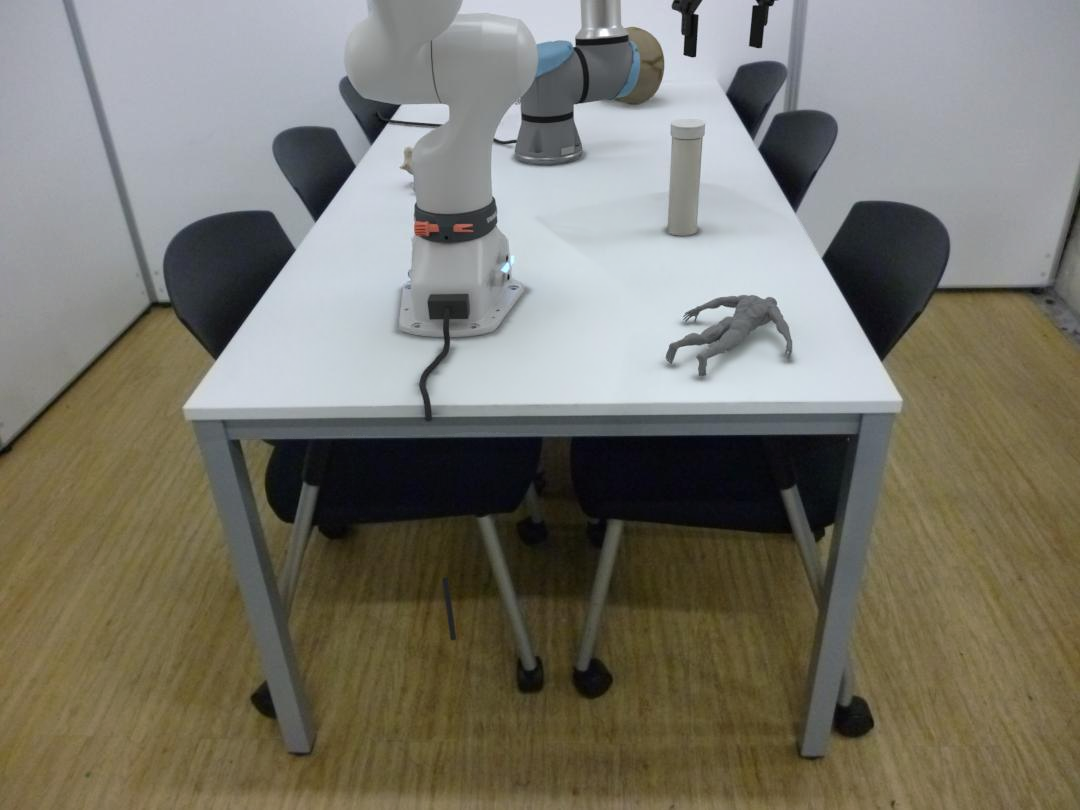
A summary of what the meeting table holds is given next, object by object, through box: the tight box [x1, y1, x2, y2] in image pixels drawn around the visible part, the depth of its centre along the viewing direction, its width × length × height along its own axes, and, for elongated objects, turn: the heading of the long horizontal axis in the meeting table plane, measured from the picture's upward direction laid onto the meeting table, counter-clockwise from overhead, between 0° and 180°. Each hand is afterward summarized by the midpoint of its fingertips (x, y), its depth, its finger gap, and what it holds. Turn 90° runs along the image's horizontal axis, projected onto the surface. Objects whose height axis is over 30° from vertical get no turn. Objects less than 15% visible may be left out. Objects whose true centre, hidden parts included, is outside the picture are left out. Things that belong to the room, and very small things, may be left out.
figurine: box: [665, 294, 793, 377], centre depth 110 cm, size 17×4×20 cm
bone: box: [399, 146, 415, 193], centre depth 172 cm, size 10×6×10 cm
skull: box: [613, 26, 665, 105], centre depth 227 cm, size 16×22×25 cm
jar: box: [667, 136, 704, 237], centre depth 142 cm, size 5×5×18 cm
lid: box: [669, 118, 706, 139], centre depth 137 cm, size 6×6×2 cm
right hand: (723, 51), depth 143 cm, fingers open, 13 cm apart
